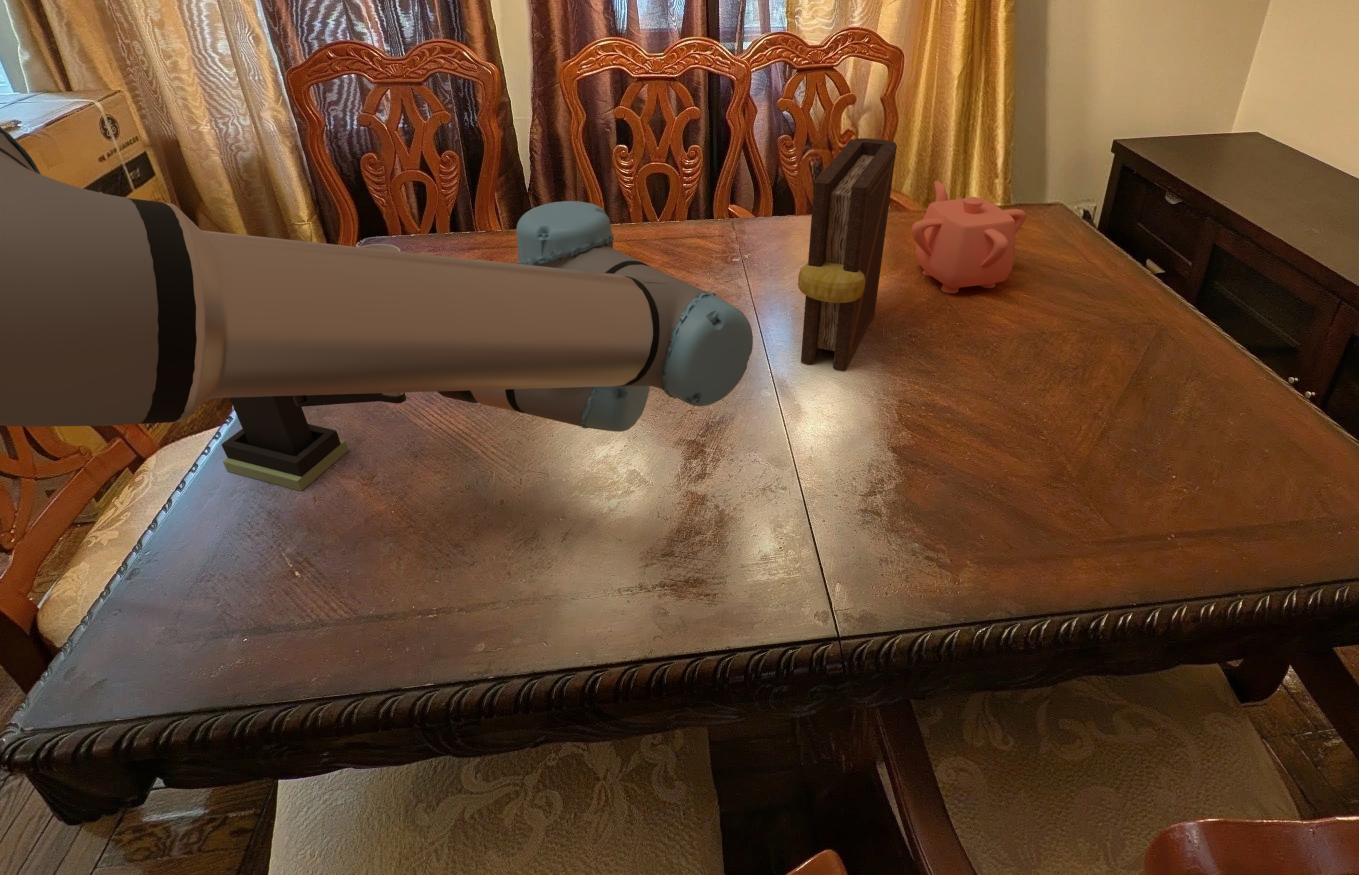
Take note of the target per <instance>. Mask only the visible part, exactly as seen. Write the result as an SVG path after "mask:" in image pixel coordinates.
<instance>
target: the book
mask: <svg viewBox="0 0 1359 875" xmlns="http://www.w3.org/2000/svg"><path fill="white" fill-rule="evenodd" d="M897 149H898V144H897V143H896V141H891V140H889V139H888V140H887V139H877V138H869V137H868V138H865V137H861V138H858V137H857V138H854V139H851V140H849V141H848V142H847V143H846V145H845V146H844V147H843V148H842V149H841V150H840V151H839V152H838V153H837V155H836V156H835V157H834V158H833V159H832V160H831V162H830V163H829V164H828V165H827V166H826V167H825V168H824V170H823V171H822V172H821V173H820V174H819V175H818V176H817V177H816V179H815V180H814V181H813V191H812V192H813V194H812V206H811V219H810V232H809V244H808V261H807V262H808V263H806V264H804V265H803V266H802V267H800V270H799V271H798V278H797V286H798V289H799V291H800V292H801V293H802V294H803V295H805V300H804V301H805V302H804V315H803V328H802V338H801V339H802V341H801V352H800V353H801V354H800V363H801V364H803V365H809V366H813V365H814V364H815V362H816V361H817V359H818V358H819V356H820V354H821V352H822V350H826V351H831V352H834V354H833V366H832V369H833V370H835V371H838V372H839V371H840V372H846V371H847V370H848V368H849V366H850V364H851V362H852V360H853V359H854V356H855V354H856V352H857V350H858V348H859V346H860V344H861V342H862V341H863V338H864V336H865V335H866V332H867V330H868V328H869V327H870V324H872V321H873V319H874V317H875V314H876V307H877V300H878V291H879V283H880V277H881V269H882V262H883V253H884V246H885V238H886V231H887V225H888V224H887V223H888V216H889V208H890V202H891V195H892V194H891V192H892V186H893V179H894V178H893V177H894V172H895V165H896V164H895V162H896V156H897Z"/></svg>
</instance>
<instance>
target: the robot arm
mask: <svg viewBox="0 0 1359 875" xmlns="http://www.w3.org/2000/svg"><path fill="white" fill-rule="evenodd" d="M610 220H611V219H610V217H609V216H608V214H607V212H606V211H605V209H603V208H602V207H601V206H598V205H597V204H594V203H591V202H586V201H580V200H579V201H577V200H562V201H554V202H549V203H545V204H541V205H538V206H535V207H533V208H531V209H530V210H528V211H526V212H524V214H522V216H521V217H520V218H519V220H518V221H517V223H516V229H515V230H516V241H517V255H518V261H517V263H513V262H506V261H505V262H503V261H495V260H484V259H475V258H466V257H459V256H458V257H457V256H447V255H437V254H430V253H429V254H427V253H420V252H419V253H418V252H409V251H391V250H382V249H372V248H363V247H361V246H353V245H343V244H333V243H323V242H314V241H306V240H295V239H287V238H276V237H267V236H258V235H248V234H238V233H229V232H221V231H210V230H202V229H200V228H199V226H197V225H196V223H195V222H194V221H192V220H191V219H190V218H189V217H188V216H187V214H185V213H184V212H183V211H182V209H180V208H179V206H177V205H175V204H174V203H169V202H163V201H155V200H148V199H139V198H131V197H124V196H119V195H113V194H107V193H103V192H99V191H95V190H90V189H87V188H82V187H78V186H75V185H71V184H69V183H66V182H62V181H59V180H57V179H55V178H51V177H49V176H46V175H43V174H42V173H41V172H40V170H39V168H38V167H37V165H36V163H35V161H34V160H33V158H32V157H31V155H30V154H29V153H28V151H27V150H26V149H25V148H24V147H23V146H22V145H21V144H20V143H19V142H18V141H17V140H16V139H15V138H14V137H13V136H12V135H11V134H10V133H9V132H8V131H7V130H5V129H4V128H3V127H1V126H0V427H1V426H2V427H26V428H27V427H28V428H29V427H30V428H31V427H32V428H33V427H34V428H35V427H37V428H38V427H41V428H42V427H43V428H44V427H45V428H46V427H107V426H108V427H109V426H128V425H144V424H145V425H147V424H166V423H167V424H169V423H182V422H184V421H186V420H187V419H188V418H189V417H191V415H192V414H193V413H195V411H196V410H198V409H199V408H200V407H201V406H202V405H203V404H204V403H205V402H206V401H208V400H212V399H222V398H224V399H225V398H229V397H263V396H293V399H294V402H295V404H296V406H298V407H302V408H303V407H317V406H331V405H347V404H360V403H361V404H363V403H373V402H382V403H390V404H396V405H397V404H403V403H405V402H406V401H407V397H406V396H407V395H406V393H427V392H429V393H430V392H436V393H438V394H439V395H441V396H442V397H444V398H448V399H452V400H457V401H460V402H461V401H462V402H466V403H472V404H480V405H483V406H487V407H492V408H497V409H502V410H508V411H512V412H517V413H521V414H525V415H530V416H535V417H539V418H541V419H542V418H543V419H548V420H552V421H556V422H560V423H565V424H568V425H572V426H577V427H580V428H582V429H592V430H593V429H594V430H599V431H606V432H617V433H618V432H621V433H623V432H625V431H629V430H630V429H631V428H632V427H634V426H635V425H636V424H637V422H638V420H639V419H640V418H641V417H642V415H643V413H644V410H645V407H646V406H647V402H648V399H649V398H648V397H649V394H650V389H651V387H653V388H658V389H660V390H662V391H663V392H664V394H665V395H667V396H668V397H670V398H672V399H675V400H676V399H677V400H679V401H682V402H684V403H686V404H688V405H690V406H695V407H707V406H710V405H714V404H716V403H718V402H719V401H722V400H723V399H724V398H725V397H727V396H729V394H730V393H731V392H733V390H735V388H736V386H738V384H740V382H741V380H742V379H743V377H744V375H745V373H746V371H747V369H748V362H749V360H750V357H751V355H752V353H753V347H754V346H753V344H754V336H753V329H752V326H751V324H750V322H749V320H748V317H747V315H745V313H744V312H743V311H741V309H740V308H738V307H736V306H734V305H732V304H731V303H729V302H728V301H726V300H724V299H722V298H721V297H719V296H718V295H717V294H716V293H715V292H713V291H706V290H704V289H701V288H699V287H696V286H695V285H692V284H690V283H687V282H685V281H683V280H681V279H679V278H676V277H674V276H672V275H669V274H668V273H665V272H663V271H661V270H659V269H657V268H655V267H652V266H650V265H649V264H647V263H645V262H643V261H641V260H639V259H637V258H635V257H632V256H630V255H628V254H626V253H624V252H622V251H619V250H617V249H616V248H614V240H615V238H614V236H615V235H614V233H613V232H612V227H611V226H612V225H611V221H610ZM229 399H230V398H229Z"/></svg>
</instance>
